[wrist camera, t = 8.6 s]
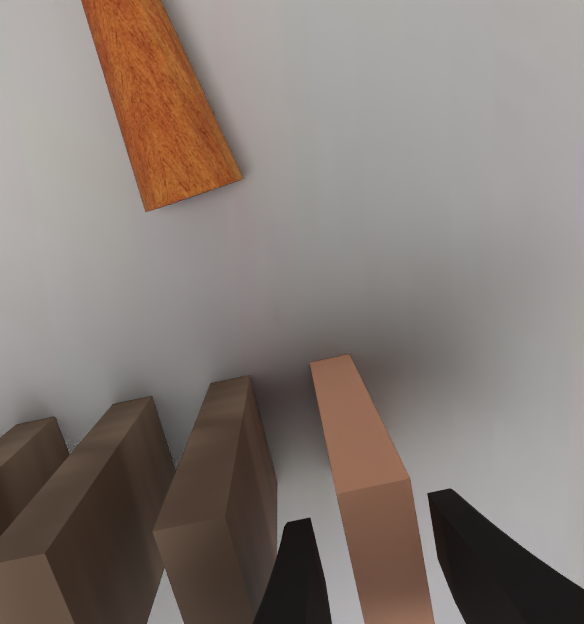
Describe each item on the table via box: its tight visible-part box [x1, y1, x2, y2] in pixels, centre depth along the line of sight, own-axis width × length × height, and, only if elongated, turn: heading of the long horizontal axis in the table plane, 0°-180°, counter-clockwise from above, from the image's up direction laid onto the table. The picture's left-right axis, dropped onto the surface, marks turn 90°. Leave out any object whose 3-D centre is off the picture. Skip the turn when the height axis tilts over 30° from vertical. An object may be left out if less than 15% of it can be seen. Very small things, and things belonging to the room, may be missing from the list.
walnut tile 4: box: [152, 375, 277, 624], centre depth 14 cm, size 2×5×8 cm, turn 12°
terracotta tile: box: [310, 354, 435, 624], centre depth 14 cm, size 2×5×8 cm, turn 12°
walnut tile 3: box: [0, 396, 176, 624], centre depth 14 cm, size 2×5×8 cm, turn 12°
